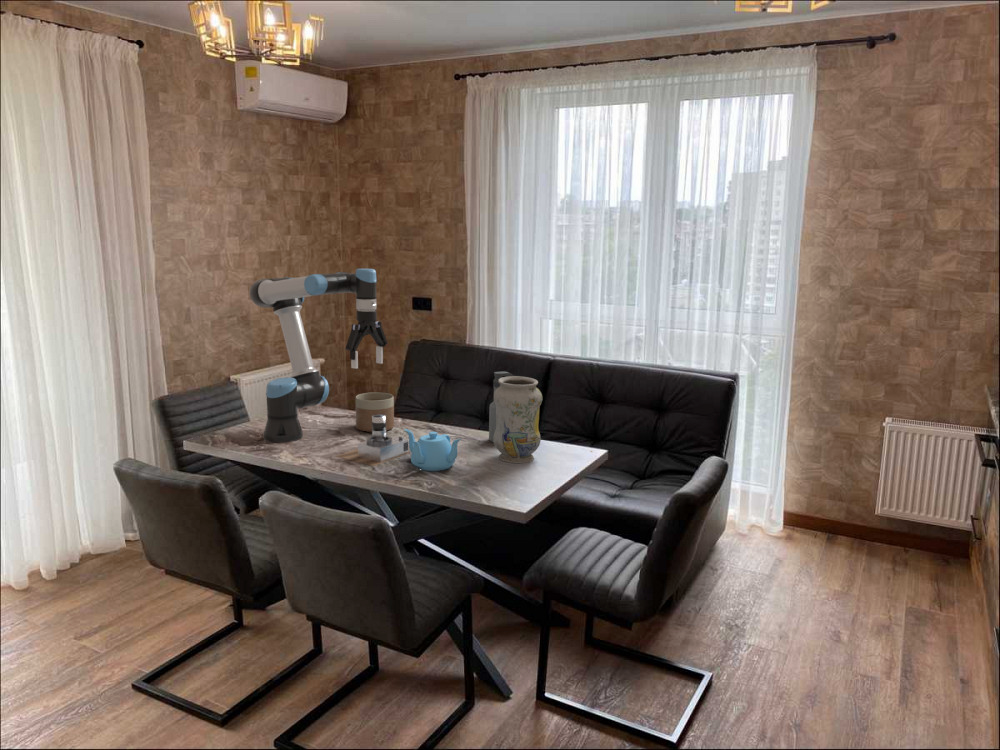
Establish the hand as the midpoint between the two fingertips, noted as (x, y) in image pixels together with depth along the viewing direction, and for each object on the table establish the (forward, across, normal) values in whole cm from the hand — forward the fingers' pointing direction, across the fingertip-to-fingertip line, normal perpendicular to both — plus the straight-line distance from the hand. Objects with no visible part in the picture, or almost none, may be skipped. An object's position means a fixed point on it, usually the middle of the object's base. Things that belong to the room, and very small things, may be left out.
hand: (367, 365), depth 287 cm
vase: (+32, +21, -55) cm, 67 cm away
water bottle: (+32, +38, -37) cm, 62 cm away
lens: (+25, -10, -15) cm, 31 cm away
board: (+32, -10, -12) cm, 35 cm away
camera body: (+30, -8, -15) cm, 35 cm away
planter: (+32, +21, +16) cm, 41 cm away
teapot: (+32, -5, -35) cm, 48 cm away
